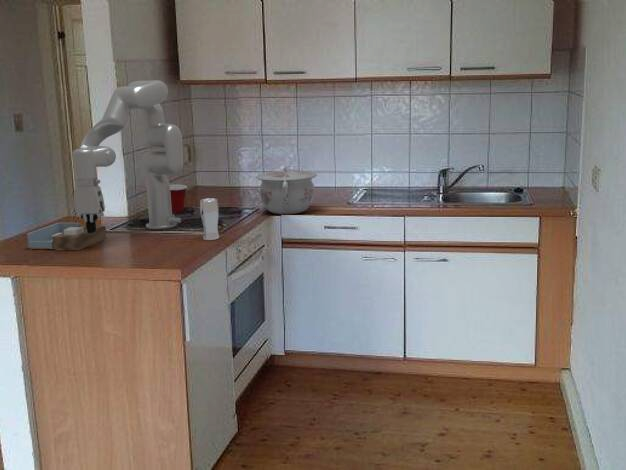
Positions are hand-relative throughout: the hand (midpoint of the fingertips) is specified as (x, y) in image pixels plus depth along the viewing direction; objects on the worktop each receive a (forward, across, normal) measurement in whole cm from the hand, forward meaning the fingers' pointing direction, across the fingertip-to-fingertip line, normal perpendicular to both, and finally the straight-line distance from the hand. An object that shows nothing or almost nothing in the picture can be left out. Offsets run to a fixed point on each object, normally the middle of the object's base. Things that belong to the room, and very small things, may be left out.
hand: (91, 232), depth 256 cm
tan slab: (+6, +8, -5) cm, 11 cm away
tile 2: (+1, +8, 0) cm, 8 cm away
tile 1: (+3, +19, -9) cm, 21 cm away
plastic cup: (+6, -1, -71) cm, 71 cm away
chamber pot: (+6, -54, -73) cm, 91 cm away
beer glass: (+6, -39, -19) cm, 44 cm away
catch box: (+6, +18, -5) cm, 20 cm away
